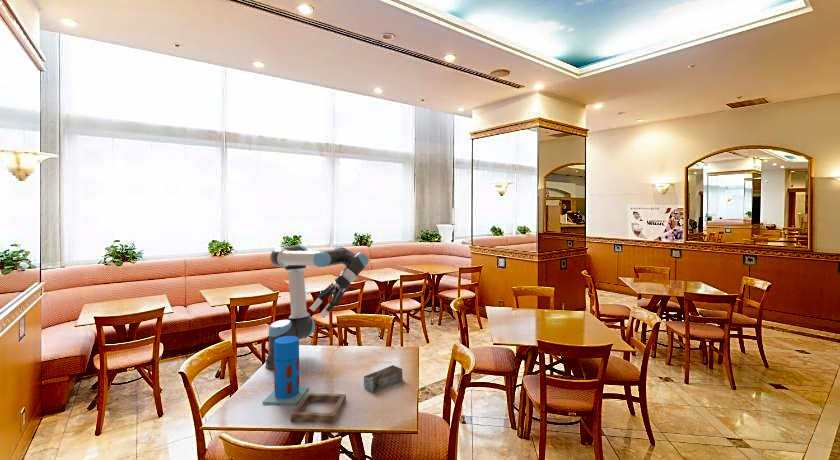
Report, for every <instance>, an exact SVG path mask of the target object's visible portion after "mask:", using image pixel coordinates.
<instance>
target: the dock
mask: <svg viewBox="0 0 840 460" xmlns="http://www.w3.org/2000/svg"><path fill="white" fill-rule="evenodd" d="M346 401H347V394H345V393H323V392H322V393H321V392H319V393H318V392H306V393H305V395H304V396H303V397H302V399H301V400H300V401H299V403H298V404H297V405H295V407H294V409H293V411H292V412H291V413H290V422H294V423H295V422H296V423H298V422H299V423H317V422H320V423H321V424H322V423H323V424H335V423H336V422H337V420H338V417H339V415H341V414H340V413H341V412H342V410H343V407H344V406H345V403H346ZM309 403H332V404H333V403H336V404H335V406H334V407H333V409H332V411H331V412H315V411H314V412H312V411H309V412H308V411H304V410H305V409H306V407H307V406H308V404H309Z"/></svg>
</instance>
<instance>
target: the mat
mask: <svg viewBox="0 0 840 460" xmlns="http://www.w3.org/2000/svg"><path fill="white" fill-rule="evenodd" d="M308 391H309V387H307V386H299V393H298V394H297V395H296V396H294V397H291V398H287V399H280V398H277V397H275V389H274V390H273V391H271V392H270V394H269V395H268V396H267V397H266V398H265V399H264V400H263V401H262V405H271V404H280V405H279V406H297V405H298V404H299V402H300V401H301V400H302V398H303V397H304V396H305V394H306V393H308Z"/></svg>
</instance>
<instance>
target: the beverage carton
mask: <svg viewBox="0 0 840 460" xmlns="http://www.w3.org/2000/svg"><path fill="white" fill-rule="evenodd" d="M402 381H403V368H400V367H399V366H396V365H389V366H387V367H384V368H383V369H381V370H377V371H374V372H372V373H369V374H367V375H364V376H363V388H364V389H366V391H367V390H368V391H370V392H371V393H373V394H374V393H376V392H378V391H382V390H383V389H385V388H388V387H390V386H393V385H394V384H397V383H400V382H402Z"/></svg>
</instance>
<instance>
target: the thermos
mask: <svg viewBox="0 0 840 460" xmlns="http://www.w3.org/2000/svg"><path fill="white" fill-rule="evenodd" d="M273 371H274V372H273V374H274V375H273V378H274V379H273V380H274V382H273V383H274V384H273V385H274V386H273V387H274V390H275V397H277V398H280V399H287V398H291V397H294V396H296V395H297V394H298V393H299V387H300V340H299V339H298V337H296V336H283V337H279V338H277V339H275V340H274V370H273Z"/></svg>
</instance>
